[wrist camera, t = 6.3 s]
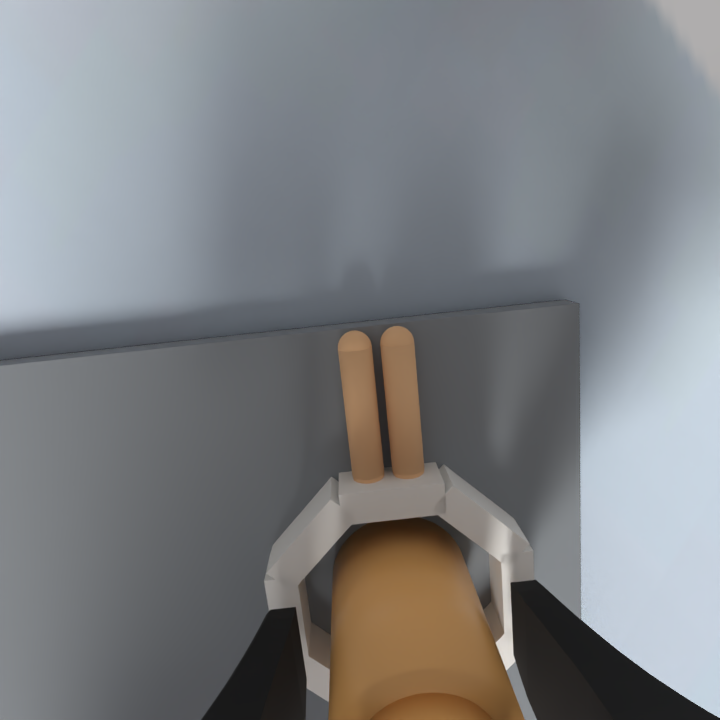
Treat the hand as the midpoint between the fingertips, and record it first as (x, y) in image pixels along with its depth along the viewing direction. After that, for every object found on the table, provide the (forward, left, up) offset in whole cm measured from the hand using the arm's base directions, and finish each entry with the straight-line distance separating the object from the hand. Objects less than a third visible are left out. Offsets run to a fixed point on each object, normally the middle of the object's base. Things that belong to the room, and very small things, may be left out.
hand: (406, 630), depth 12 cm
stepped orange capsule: (0, 0, -2) cm, 2 cm away
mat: (0, +5, -3) cm, 6 cm away
